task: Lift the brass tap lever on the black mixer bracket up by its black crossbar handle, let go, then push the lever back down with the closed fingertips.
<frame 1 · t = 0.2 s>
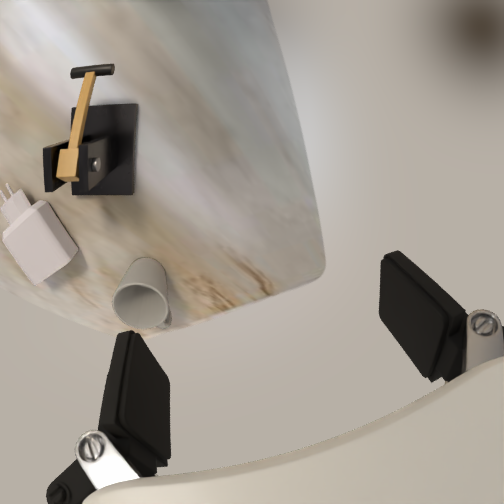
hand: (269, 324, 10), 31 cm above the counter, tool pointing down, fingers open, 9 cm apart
charger: (35, 221, 36), on the counter
cup: (152, 278, 44), on the counter
mixer bracket: (103, 149, 34), on the counter
tap lever: (80, 117, 24), point 9 cm above the counter, hinge at -25.0°
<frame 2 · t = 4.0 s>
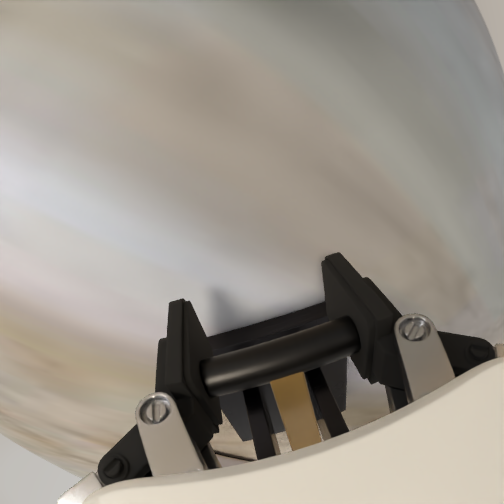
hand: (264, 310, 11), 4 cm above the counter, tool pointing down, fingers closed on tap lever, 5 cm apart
mixer bracket: (280, 380, 19), on the counter
tap lever: (314, 471, 9), point 9 cm above the counter, hinge at -25.0°, touching gripper
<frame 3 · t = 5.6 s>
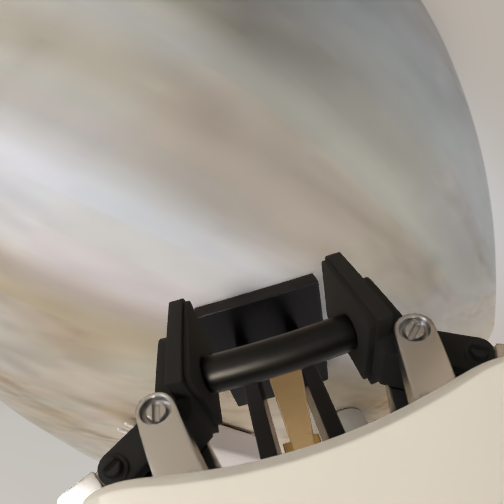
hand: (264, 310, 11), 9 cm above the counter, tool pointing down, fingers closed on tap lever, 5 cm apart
charger: (181, 429, 29), on the counter
cup: (343, 419, 34), on the counter
mixer bracket: (269, 346, 24), on the counter
tap lever: (299, 429, 12), point 11 cm above the counter, hinge at -0.2°, touching gripper
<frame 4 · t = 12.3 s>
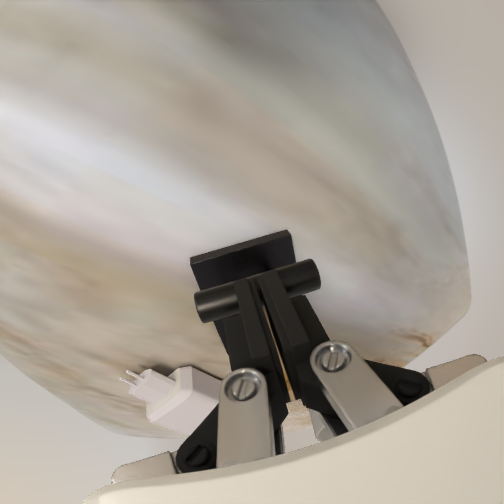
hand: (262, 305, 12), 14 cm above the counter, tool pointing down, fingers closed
charger: (177, 383, 34), on the counter
cup: (327, 381, 39), on the counter
mixer bracket: (253, 295, 29), on the counter
tap lever: (273, 353, 16), point 12 cm above the counter, hinge at 14.5°, touching gripper
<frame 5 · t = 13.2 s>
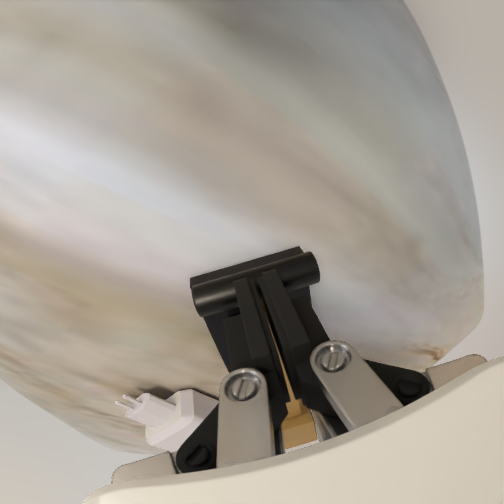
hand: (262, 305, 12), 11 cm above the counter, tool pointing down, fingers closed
charger: (177, 404, 31), on the counter
mixer bracket: (260, 317, 26), on the counter
tap lever: (281, 376, 14), point 11 cm above the counter, hinge at -3.9°, touching gripper
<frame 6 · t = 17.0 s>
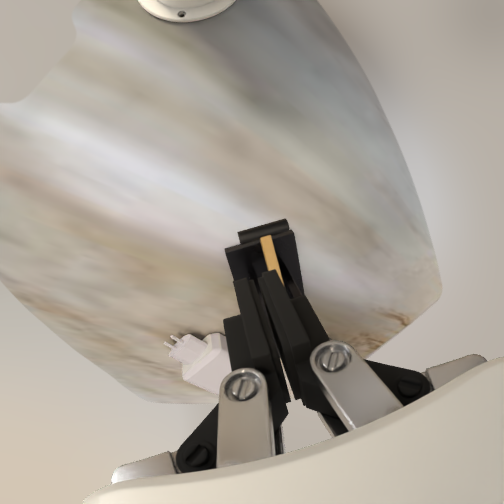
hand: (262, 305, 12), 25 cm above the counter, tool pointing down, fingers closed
charger: (206, 349, 46), on the counter
mixer bracket: (267, 276, 41), on the counter
tap lever: (278, 286, 31), point 9 cm above the counter, hinge at -17.7°
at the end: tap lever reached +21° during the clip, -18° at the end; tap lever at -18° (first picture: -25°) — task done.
